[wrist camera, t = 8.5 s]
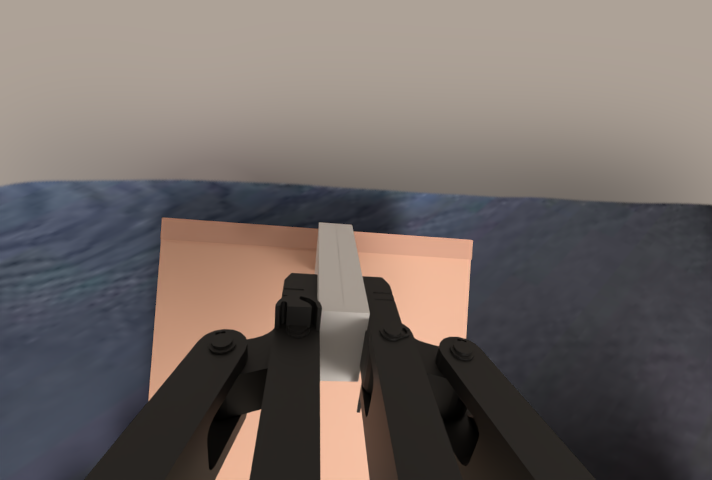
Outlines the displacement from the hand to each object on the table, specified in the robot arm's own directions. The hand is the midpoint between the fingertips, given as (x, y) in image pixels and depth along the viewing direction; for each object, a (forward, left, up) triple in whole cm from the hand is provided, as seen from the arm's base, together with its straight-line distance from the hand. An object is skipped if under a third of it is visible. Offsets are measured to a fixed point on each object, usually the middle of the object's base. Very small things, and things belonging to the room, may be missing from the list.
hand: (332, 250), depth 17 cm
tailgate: (+4, -10, -5) cm, 12 cm away
